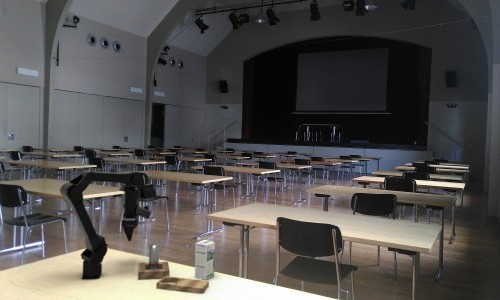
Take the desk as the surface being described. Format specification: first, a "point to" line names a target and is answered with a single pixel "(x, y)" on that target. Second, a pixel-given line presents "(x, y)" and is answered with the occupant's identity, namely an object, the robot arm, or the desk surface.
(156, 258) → the axle
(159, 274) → the socket block
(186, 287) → the brown wooden board
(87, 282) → the desk surface
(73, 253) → the desk surface
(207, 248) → the syrup box
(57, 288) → the desk surface
